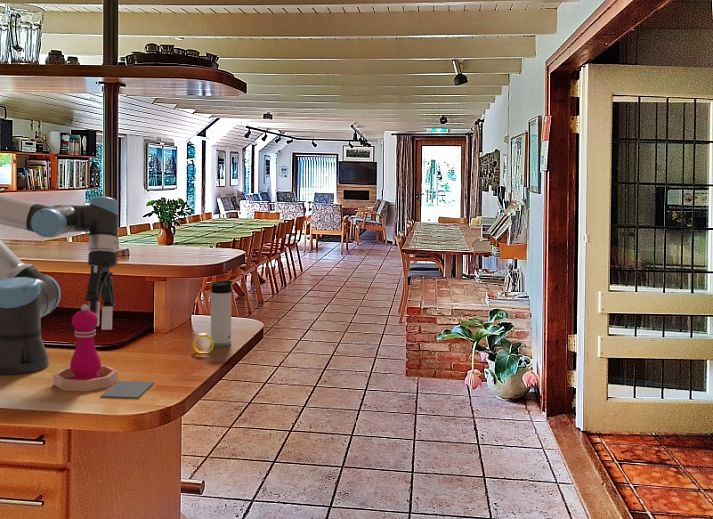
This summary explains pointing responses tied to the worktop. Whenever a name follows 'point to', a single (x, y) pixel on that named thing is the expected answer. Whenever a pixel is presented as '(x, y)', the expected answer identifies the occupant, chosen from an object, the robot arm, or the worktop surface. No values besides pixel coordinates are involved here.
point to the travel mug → (221, 313)
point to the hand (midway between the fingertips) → (100, 327)
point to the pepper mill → (85, 346)
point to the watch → (203, 336)
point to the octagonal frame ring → (85, 385)
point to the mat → (127, 389)
